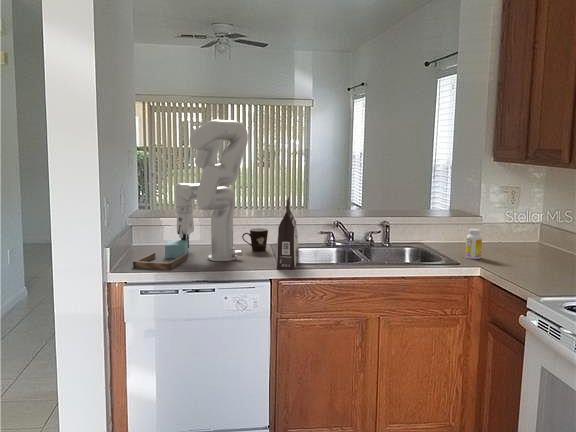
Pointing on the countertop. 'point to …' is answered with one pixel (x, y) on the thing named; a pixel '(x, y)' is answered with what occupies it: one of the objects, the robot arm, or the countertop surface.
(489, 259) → the countertop surface
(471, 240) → the supplement bottle
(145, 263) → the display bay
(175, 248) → the carton
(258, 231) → the coffee mug
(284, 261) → the protein powder
